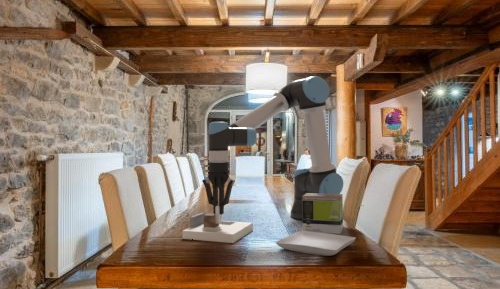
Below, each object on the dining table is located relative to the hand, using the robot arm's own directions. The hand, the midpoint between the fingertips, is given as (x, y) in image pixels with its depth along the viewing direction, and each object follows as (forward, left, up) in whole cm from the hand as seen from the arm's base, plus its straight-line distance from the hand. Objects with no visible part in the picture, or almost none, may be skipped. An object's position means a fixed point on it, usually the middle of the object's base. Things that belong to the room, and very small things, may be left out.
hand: (218, 222), depth 158 cm
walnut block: (+3, 0, -2) cm, 3 cm away
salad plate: (-39, +8, -5) cm, 40 cm away
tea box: (-37, -19, -5) cm, 42 cm away
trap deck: (0, 0, -5) cm, 5 cm away
